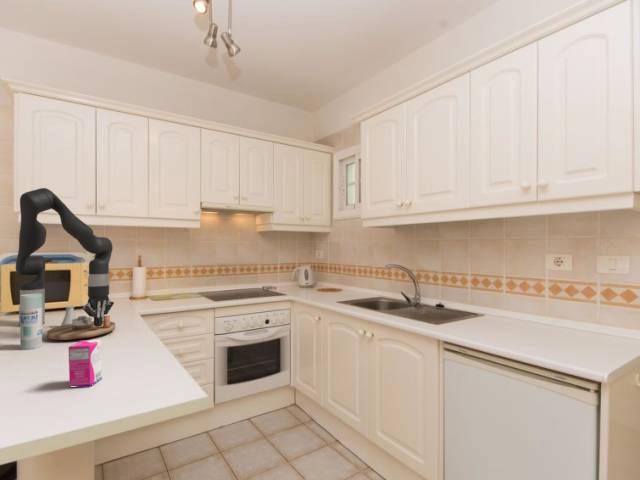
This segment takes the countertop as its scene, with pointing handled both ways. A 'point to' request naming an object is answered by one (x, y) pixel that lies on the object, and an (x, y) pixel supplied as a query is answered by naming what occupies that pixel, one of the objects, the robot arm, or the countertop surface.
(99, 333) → the turntable
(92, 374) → the supplement box
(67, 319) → the flask
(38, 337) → the spray paint can
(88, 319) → the cover
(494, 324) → the countertop surface
